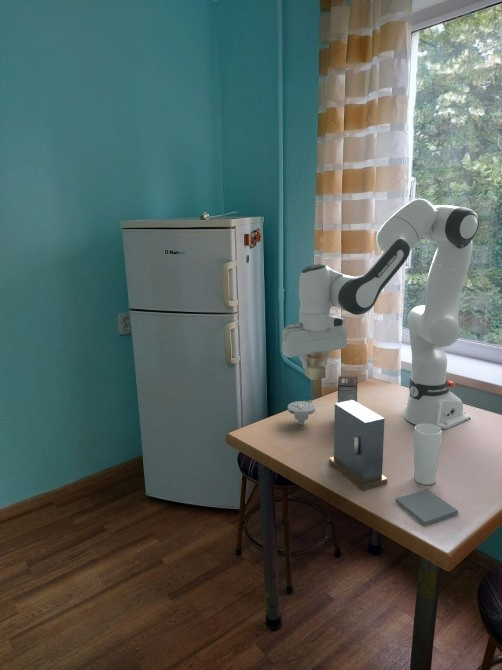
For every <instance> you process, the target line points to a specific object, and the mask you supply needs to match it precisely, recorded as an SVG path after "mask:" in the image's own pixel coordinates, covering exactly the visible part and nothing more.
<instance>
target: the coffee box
mask: <svg viewBox="0 0 502 670" xmlns="http://www.w3.org/2000/svg"><path fill="white" fill-rule="evenodd" d="M337 380H338V381H337V382H338V383H337V403H340V402H345V401H350V400H354V401H356V402H357V403H358V376H338V379H337Z"/></svg>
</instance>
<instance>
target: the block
mask: <svg viewBox="0 0 502 670" xmlns="http://www.w3.org/2000/svg"><path fill="white" fill-rule="evenodd" d="M325 357H326V354H325V352H319V353H312V354H308V355H307V356H306V358H305V360H306V362H308V363H310V368H309V369H304V377H306V378H308V379H309V380H311V381H315V380H322V379H326V366H325Z"/></svg>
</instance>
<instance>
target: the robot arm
mask: <svg viewBox="0 0 502 670" xmlns="http://www.w3.org/2000/svg"><path fill="white" fill-rule="evenodd" d="M479 225H480V223H479V217H478V215H477V213H476V211H474V210H472V209H470V208H468V207H464V206H456V205H448V204H443V205H433V204H432V203H431V202H430V201H429V200H427V199H425V198H416V199H413V200H411V201H409V202H408V203H406V204H405V205H404V206H402V207H401V208H400V209H398V210H397V211H396V212H395V213H393V214H392V216H390V217H389V218H388V219H387V220H386V221H385V222H384V223H383V224H382V226H381V227H380V228H379V230H378V231H377V233H376V244H377V247H378V249H379V250H380V252H381V254H380V256H379V258H378V259H377V260H376V261H375V262H374V263H373V265H371V267H370V268H369V269H368V270H367V272H365V273H363V274H362V275H358V276H351V275H349V274H344V273H341V272H338V271H335V270H334V269H331V267H329V266H328V265H327V264H324V263H323V264H322V263H318V264H313V265H308V266H305V268H303V269H302V270H301V273H300V275H299V280H298V281H299V283H298V284H299V285H298V299H299V302H300V303H299V304H300V306H299V311H298V313H299V314H298V315H299V317H298V319H299V323H295V324H288V325H286V326H285V327H284V328H283V329H282V331H281V332H282V343H281V353H282V354H283V355H284V356H285V357H287V358H295V357H298V358H299V360H300V361H301V363H302V369H304V370H305V369H309V368H310V363H308V362H306V360H305V358H306V356H307V355H308V354H312V353H319V352H325V354H326V357H325V367H326V366H328V360H329V358H330V356H331V354H332V353H331V352H332V351H338V350H344V349H345V348H346V347H347V344H348V334H347V329H346V327H345V325H346V319H345V318H342V317H340V316H336V315H334V314H332V313H331V308H332V307H336V308H339V309H341V310H344V311H346V312H348V313H350V314H351V315H356V316H359V315H364V314H365V313H368V312H369V311H370V310H372V308H373V307H374V306H375V304H376V302H377V301H378V298H379V296H380V294H381V293H382V291H383V289H384V288H385V286H387V284H388V283H390V281H391V280H392V279H393V277H394V276H395V275H396V274H397V273H398V271H399V270H400V269H401V268H402V266H403V265H404V263H405V262H406V261H407V260H408V257H409V255H410V253H411V251H412V249H413V248H415V246H417V244H418V243H419V242H420V241H421V240H426V241H430V242H433V243H434V242H435V243H436V247H437V248H436V251H435V253H434V256H433V258H432V262H431V265H430V267H429V272H428V275H427V278H426V281H425V285H424V291H425V301H424V302H425V304H424V305H422V304H421V305H417V306H414V307H413V308H412V309H410V311H409V312H408V314H407V317H406V321H407V325H408V331H409V339H410V340H409V342H410V343H409V344H410V349H411V374H410V377H409V382H408V383H409V384H408V390H409V393H408V398H407V403H406V407H405V411H404V414H403V418H404V420H406V421H407V422H409V423H411V424H413V425H415V426H416V425H418V424H432V425H435V426H438V427H439V428H440V429H441V430H447V429H449V428H452V427H454V426H456V425H457V426H458V425H459V424H461V423H463V422H465V420H466V421H468V420H470V419H471V415H470V414H469V413H468V412H467V411H466V410H464V403H463V401H462V399H460V398H459V396H457V395H456V394H454V393H453V392H451V391H450V388H453V389H454V388H455V387H456V383H455V381H452V380H447V368H448V357H447V355H446V351H445V348H447V347H449V346H452V345H454V344H455V343H456V342H457V341H458V339H459V337H460V333H461V327H460V325H459V313H460V300H461V296H462V295H461V294H462V291H463V288H464V285H465V280H466V277H467V274H468V270H469V267H470V265H471V264H470V263H471V260H472V254H473V247H474V246H473V245H474V244H473V239H474V238H475V236H476V235H477V232H478V230H479ZM449 387H450V388H449ZM469 418H470V419H469Z"/></svg>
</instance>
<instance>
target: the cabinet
mask: <svg viewBox="0 0 502 670" xmlns="http://www.w3.org/2000/svg"><path fill="white" fill-rule="evenodd" d="M385 422H386V421H385V417H383V416H381V415H380V414H378V413H377V412H374V411H373V410H371V409H369V408H368V407H366V406H364V405H362V404H361V403H359V402H358V401H357V402H356V401H354V400H350V401H345V402H340V403H338V402H336V403H334V422H333V423H334V425H333V426H334V428H333V431H334V435H333V437H334V438H333V439H334V440H333V456H330V457H329V458H328V463H329V464H330V465H331V466H332V467H334V468H335V470H337V471H338V472H339V473H341V475H343V476H344V477H345V478H346V479H348V480H349V481H350V482H351V483H352V484H354V486H356V487H357V488H358V489H359V490H360V491H362V492H364V491H367V490H370V489H373V488H378V487H380V486H384V485H388V478H387V477H386V476H385V475H383V465H384V463H383V461H384V440H385Z"/></svg>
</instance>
